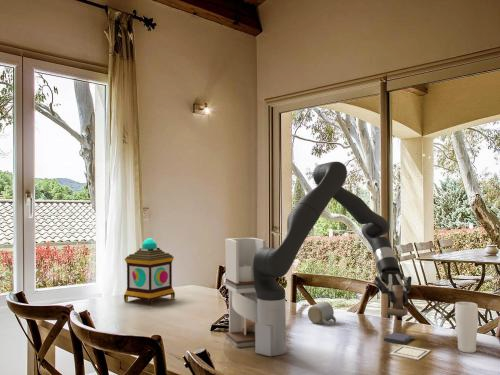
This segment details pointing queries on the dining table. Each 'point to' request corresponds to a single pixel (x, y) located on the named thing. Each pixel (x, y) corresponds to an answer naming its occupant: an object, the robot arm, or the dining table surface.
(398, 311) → the stamp
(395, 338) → the ink pad
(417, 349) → the label card
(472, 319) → the drinking glass
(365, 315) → the dining table surface
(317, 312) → the ceramic mug
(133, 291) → the decorative lantern
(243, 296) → the white tiered stand
